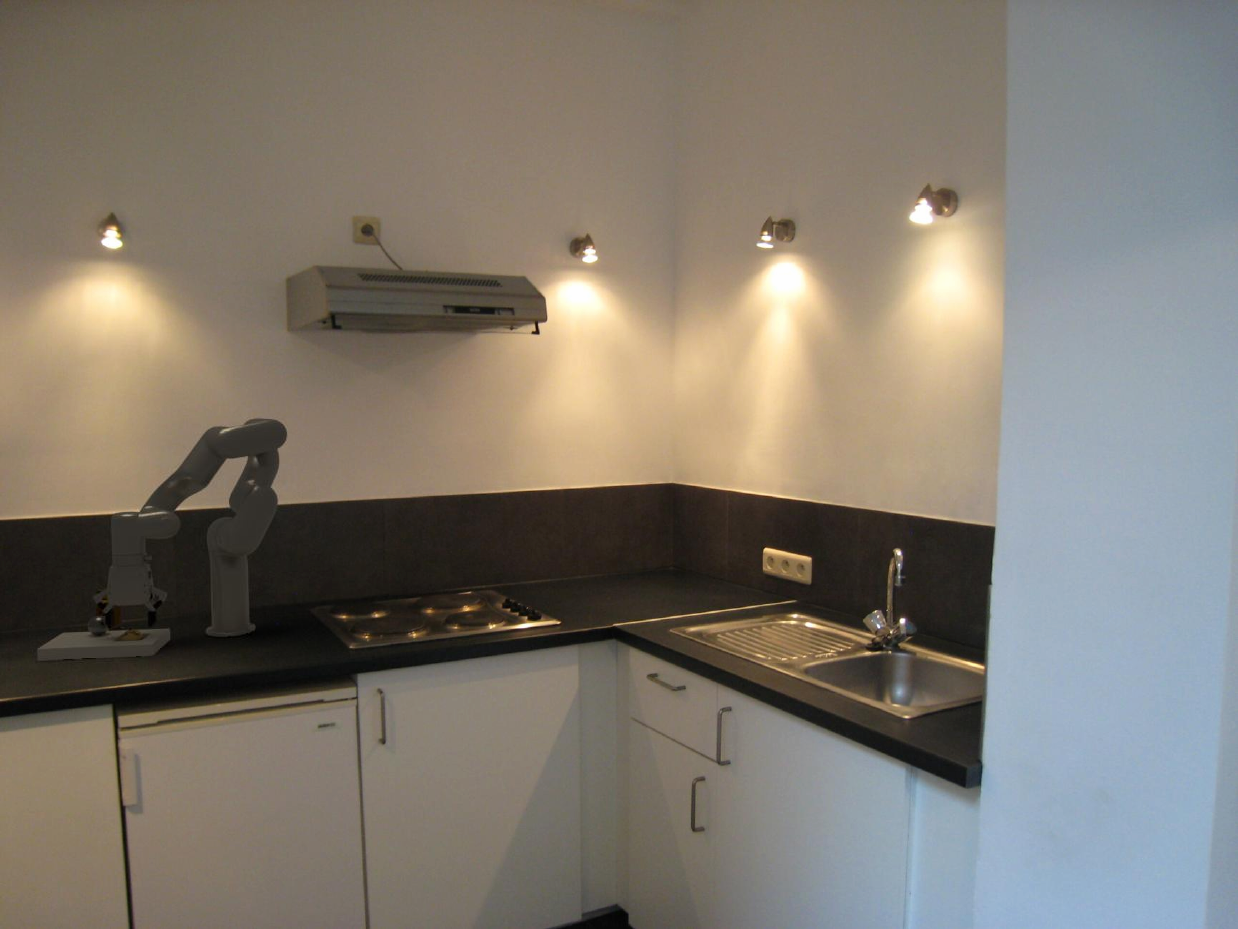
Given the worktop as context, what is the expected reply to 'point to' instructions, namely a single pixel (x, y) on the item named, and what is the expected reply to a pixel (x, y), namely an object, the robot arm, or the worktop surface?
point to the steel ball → (97, 625)
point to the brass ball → (132, 635)
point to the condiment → (116, 610)
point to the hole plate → (102, 645)
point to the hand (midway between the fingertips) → (131, 626)
